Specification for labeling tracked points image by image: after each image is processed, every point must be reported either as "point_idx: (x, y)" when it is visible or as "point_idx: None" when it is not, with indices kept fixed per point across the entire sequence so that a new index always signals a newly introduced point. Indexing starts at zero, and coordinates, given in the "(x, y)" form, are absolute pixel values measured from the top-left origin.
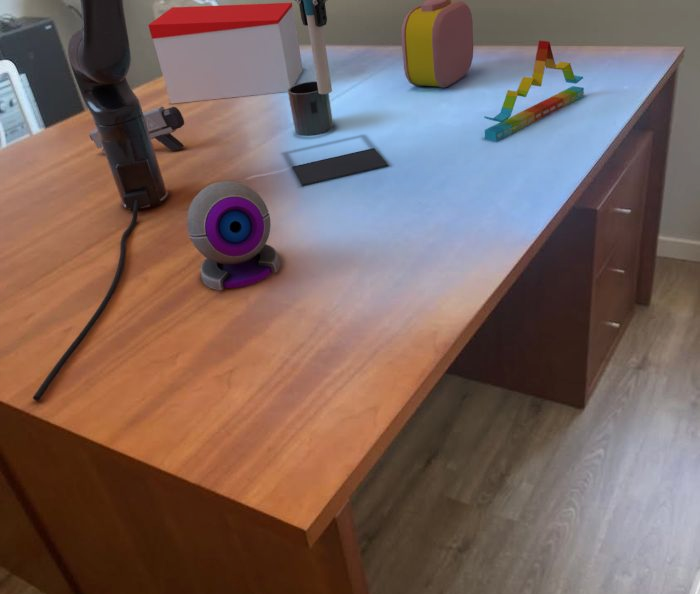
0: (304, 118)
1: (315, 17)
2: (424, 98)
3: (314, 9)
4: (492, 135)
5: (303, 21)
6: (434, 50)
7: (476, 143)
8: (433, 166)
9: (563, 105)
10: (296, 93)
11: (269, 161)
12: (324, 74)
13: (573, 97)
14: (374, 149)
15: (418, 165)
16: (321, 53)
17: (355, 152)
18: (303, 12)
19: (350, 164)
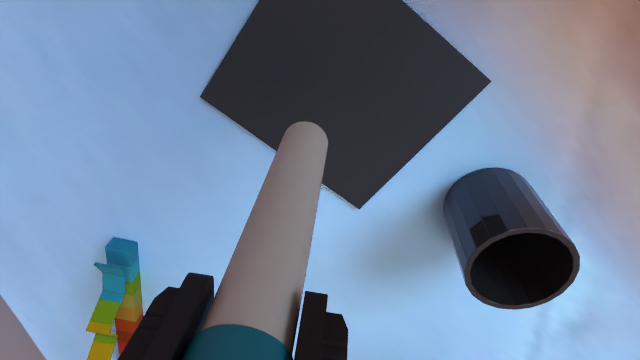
0: (493, 193)
1: (182, 311)
2: (353, 356)
3: (155, 355)
4: (115, 244)
5: (317, 307)
6: None
7: (136, 225)
8: (124, 123)
9: None
10: (560, 262)
11: (505, 23)
12: (274, 157)
13: None
14: None
15: (152, 118)
16: (257, 200)
17: None
18: (295, 353)
19: (276, 69)
